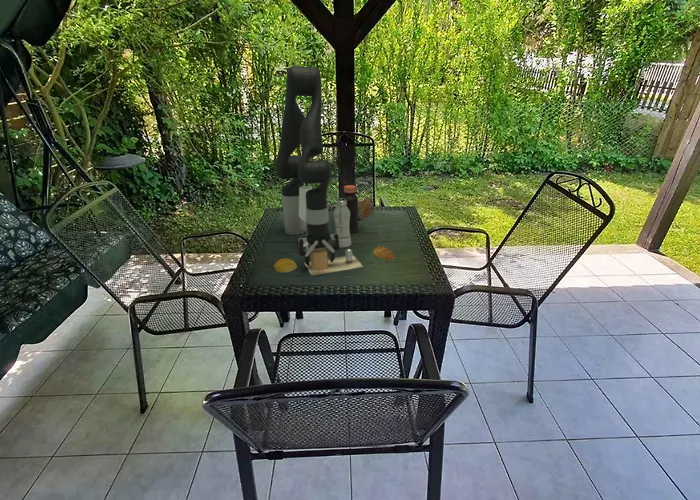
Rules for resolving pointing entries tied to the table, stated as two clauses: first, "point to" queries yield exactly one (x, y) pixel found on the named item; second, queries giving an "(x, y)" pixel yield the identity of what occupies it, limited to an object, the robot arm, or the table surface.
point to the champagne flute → (303, 205)
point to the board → (336, 265)
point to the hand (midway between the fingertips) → (319, 263)
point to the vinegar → (352, 207)
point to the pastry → (383, 253)
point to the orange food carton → (365, 207)
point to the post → (348, 256)
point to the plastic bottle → (342, 223)
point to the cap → (319, 259)
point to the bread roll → (285, 265)
